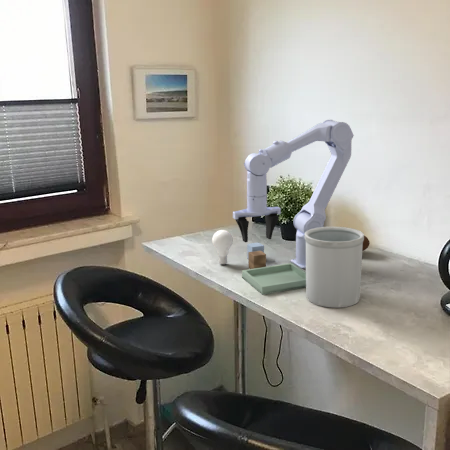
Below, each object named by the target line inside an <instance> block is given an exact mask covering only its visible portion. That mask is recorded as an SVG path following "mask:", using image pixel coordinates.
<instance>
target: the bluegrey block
mask: <svg viewBox="0 0 450 450" xmlns="http://www.w3.org/2000/svg"><path fill="white" fill-rule="evenodd" d="M246 244H247V245H246V246H247V247H246V251H247V253H246V254H247V255H246V257H247V260H248V252H254V251H262V252H263V253H265V245H264V244H262V243H261V242H251V243H246Z"/></svg>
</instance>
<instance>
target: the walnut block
mask: <svg viewBox="0 0 450 450" xmlns="http://www.w3.org/2000/svg"><path fill="white" fill-rule="evenodd" d="M247 260H248V269H255V268H261V267H267V254H266V253H265V252H264V253H263V252H262V251H254V252H248V259H247Z"/></svg>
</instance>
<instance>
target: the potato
mask: <svg viewBox="0 0 450 450" xmlns="http://www.w3.org/2000/svg"><path fill="white" fill-rule="evenodd" d="M370 243H371V242H370V240H369V238H368V237H367V236H366V235H364V241H363V248H362V252H364V251H366V250H367V249H369V247H370Z"/></svg>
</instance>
